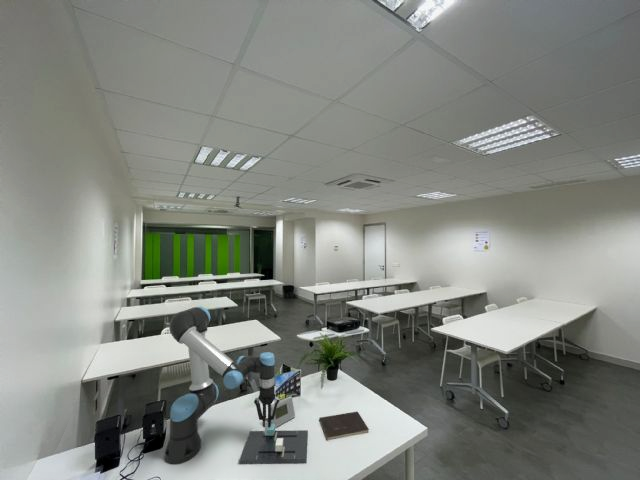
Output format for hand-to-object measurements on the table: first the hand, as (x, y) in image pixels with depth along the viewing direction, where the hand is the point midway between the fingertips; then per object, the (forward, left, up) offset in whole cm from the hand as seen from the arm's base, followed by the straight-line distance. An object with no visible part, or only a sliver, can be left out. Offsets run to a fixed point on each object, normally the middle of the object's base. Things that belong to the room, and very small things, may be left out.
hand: (266, 433), depth 126 cm
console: (+6, -5, -4) cm, 8 cm away
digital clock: (+6, +14, -4) cm, 16 cm away
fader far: (+2, 0, -1) cm, 3 cm away
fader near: (+8, -10, -1) cm, 13 cm away
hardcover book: (+40, +10, -4) cm, 41 cm away
